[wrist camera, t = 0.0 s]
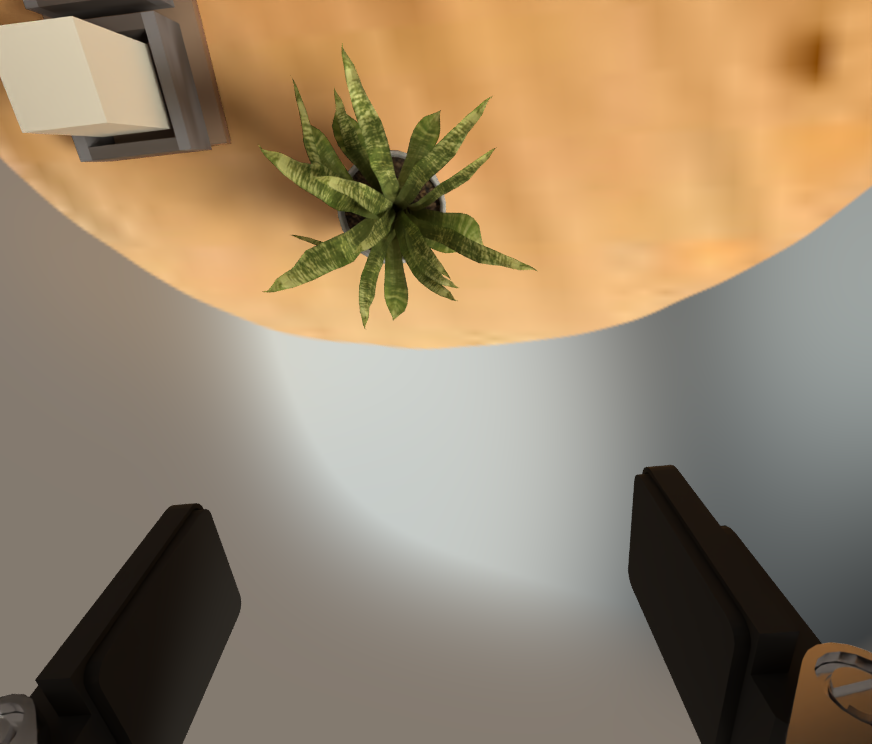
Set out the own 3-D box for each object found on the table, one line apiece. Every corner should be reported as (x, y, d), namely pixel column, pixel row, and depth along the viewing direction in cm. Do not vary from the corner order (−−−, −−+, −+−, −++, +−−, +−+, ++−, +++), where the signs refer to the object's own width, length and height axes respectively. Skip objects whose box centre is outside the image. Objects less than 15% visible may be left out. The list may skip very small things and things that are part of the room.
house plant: (528, 110, 35) (593, 77, 20) (490, 298, 41) (519, 381, 26) (327, 75, 34) (241, 14, 19) (316, 271, 40) (242, 341, 25)
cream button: (74, 53, 31) (-19, 27, 25) (147, 44, 31) (71, 15, 25) (102, 137, 33) (22, 132, 27) (171, 128, 33) (107, 122, 27)
